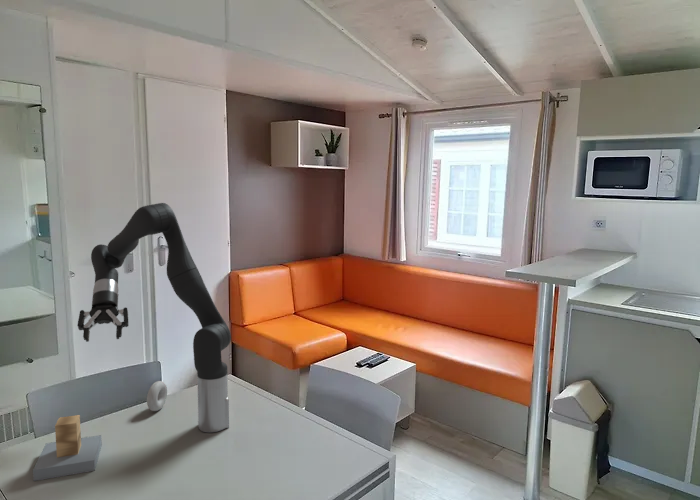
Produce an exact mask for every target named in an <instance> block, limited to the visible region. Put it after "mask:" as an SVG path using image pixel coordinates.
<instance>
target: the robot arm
mask: <svg viewBox="0 0 700 500" xmlns="http://www.w3.org/2000/svg"><path fill="white" fill-rule="evenodd" d="M160 233H162V234H163V237H164V239H165V241H166V245H167V249H168V250H167V251H168V253H167V254H168V255H167V262H166V276H167V278H168V280H169V283H170V285H171V288H172V289H173V292H174V293H175V295H176V296H177V297H178V298H179V299H180V300H181V302H183V303H184V304H185V305H186V306H187V307H188V308H190V309H191V311H192V312H193V313H194V315H195V316H196V317H197V319H198V321H199V323H200V327H201V328H199V329H198V330H197V331H196V332H195V334H194V336H193V343H192V346H193V347H192V348H193V351H192V352H193V362H194V367H195V370H196V374H197V376H196V377H197V378H196V379H197V380H196V381H197V413H198V414H197V417H198V418H197V422H198V423H197V424H198V429H199V431H201V432H204V433H217V432H220V431H223V430H225V429H228V428H230V399H229V395H228V394H229V388H228V387H229V385H228V384H229V383H228V380H229V379H228V365H227V364H226V362H223V361H222V351H223V350H224V349H227V348H228V347H229V345H230V344H231V341H232V340H231V339H232V334H231V330H230V329H229V326H228V325H227V323H226V321H225V320H224V318H223V316H222V315H221V313H220V312H219V310H218V309H217V307H216V305H215V303H214V301H213V299H212V297H211V295H210V293H209V291H208V288H207V287H206V284H205V281H204V280H203V277H202V275H201V273H200V271H199V269H198V267H197V265H196V263H195V261H194V259H193V257H192V255H191V253H190V251H189V248H188V245H187V244H186V241H185V238H184V236H183V233H182V230H181V228H180V224H179V222H178V219H177V215H176V214H175V212H174V211H173V208H172V207H171V206H170V205H169V204H167V203H165V202H158V203H153V204H146V205H143V206H141V207H139V208H137V210H135V212H134V213H133V215H132V216H131V217H130V219H129V221H128V222H127V223H126V225H125V226H124V227H123V229H122V230H121V231H120V232H119V233H118V234H117V235H116V236H115V237H113V238H112V239H111V240H110V241H109V242H108V243H107V245H105V244H103V243H102V244H97V245H96V246H94V247H93V249H92V250H91V255H90V258H91V259H90V260H91V263H92V266H93V271H94V275H95V276H94V285H93V288H92V289H93V290H92V299H91V300H92V301H91V309H90V310H89V311H85V310H84V309H81V310H80V311H79V314H78V315H79V316H78V320H77V328H78V330H79V331H83V333H82V334H83V336H82V337H83V340H84V341H85V342H90V333H91V332H90V330H91V329H92V328H94V327H95V326H96V325H97V324H98V325H103V324H106V325H107V324H113V325H114V326H115V327H116V331H115V333H116V334H115V337H116V340H120V338H122V336H123V335H122V334H123V328H127V327H128V328H129V312H128V311H129V310H128V307H123V308H122V309H119V306H118V304H119V272H118V270H117V269H119V268H121V267H122V266H123V264H124V263H125V259H126V258H127V256H128V255H129V254H130V253H132V252H133V251H134V250H135V249H136V248H137V246H138V245H139V242H140V239H142V238H144V237H146V236H149V235H151V236H153V235H156V234H160ZM119 314H120V315H121V317H123V321H120V320H119V319H118V316H119ZM89 316H90V318H89V319H88V321H87V322H86V323H85V321H86V319H87V318H88V317H89Z"/></svg>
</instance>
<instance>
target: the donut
mask: <svg viewBox="0 0 700 500" xmlns="http://www.w3.org/2000/svg"><path fill="white" fill-rule="evenodd" d="M167 398H168V387H167V384H166V383H165V381H162V380H157V381H154V383H153V384H151V385H150V387H149V389H148V391H147V395H146V406H147V407H148V409H149V410H150V411H152V412H158V411H159V410H161V409H162V408H163V407H164V405H165V403H166V400H167Z"/></svg>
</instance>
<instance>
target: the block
mask: <svg viewBox="0 0 700 500" xmlns="http://www.w3.org/2000/svg"><path fill="white" fill-rule="evenodd" d="M54 429H55V430H54V431H55V432H54V433H55V442H56V451H57V458H58V457H64V456H70V455H77V454H78V453H79V450H80V447H81V438H82V433H81V432H82V431H81V415H80V414H77V415H76V414H75V415H70V416H61V417H58V419H57V420H56V423H55V425H54Z"/></svg>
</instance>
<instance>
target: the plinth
mask: <svg viewBox="0 0 700 500" xmlns="http://www.w3.org/2000/svg"><path fill="white" fill-rule="evenodd" d="M102 440H103V439H102V434H100V435H99V434H98V435H94V436H87V437H81V447H80V450H79V453H78V454H77V455H70V456H64V457H58V458H57V451H56V441H53V442H46V443H45V445H44V447H43V449H42V450H41V452H40V454H39V457H38V459H37V461H36V463H35V466H34V467H33V469H32V475H33V482H35V481H42V480H46V479H53V478H59V477H65V476H70V475H78V474H83V473H88V472H93V471H94V472H95V471H96V468H97V464H98V460H99V457H100V453H101V449H102V448H101V447H102V445H103V444H102Z"/></svg>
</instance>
